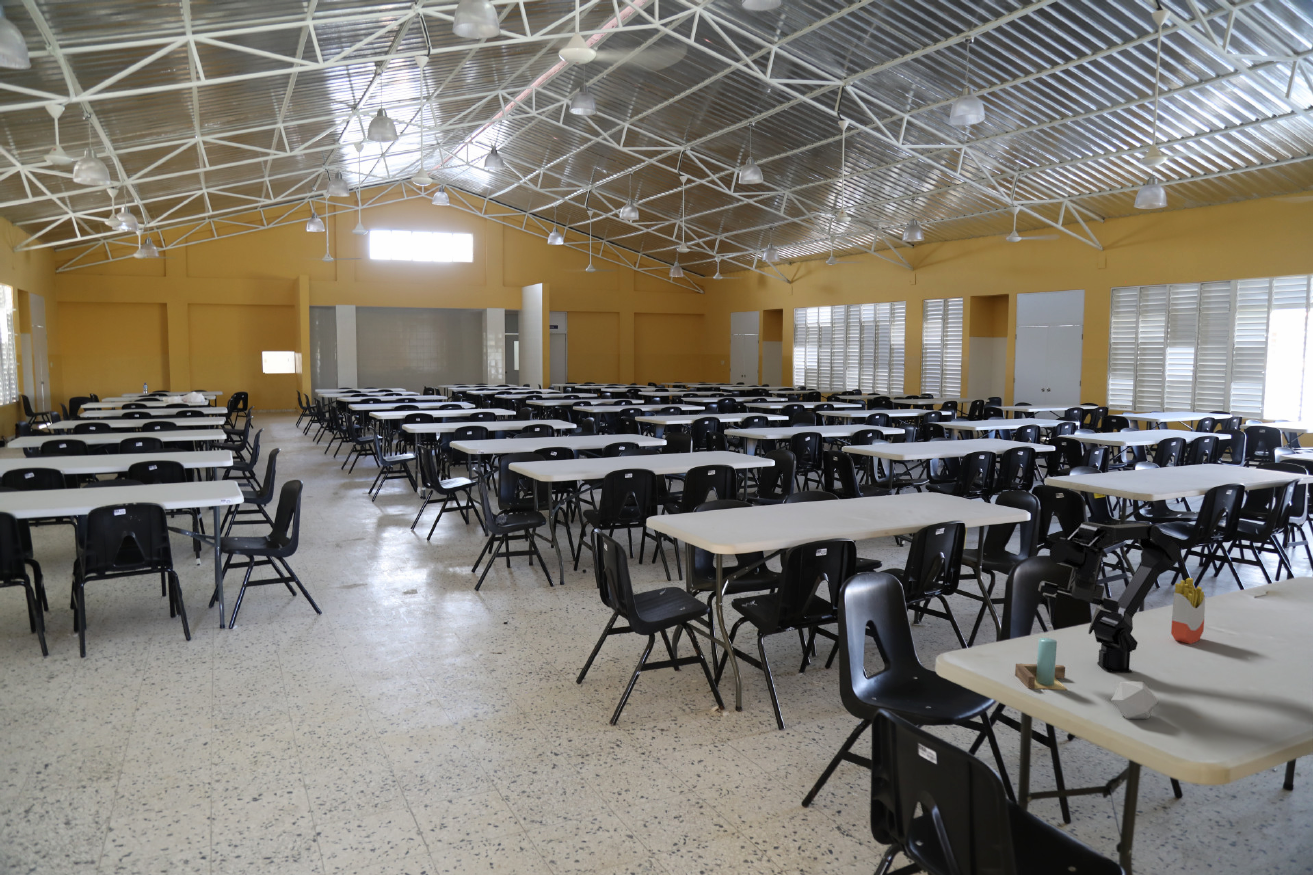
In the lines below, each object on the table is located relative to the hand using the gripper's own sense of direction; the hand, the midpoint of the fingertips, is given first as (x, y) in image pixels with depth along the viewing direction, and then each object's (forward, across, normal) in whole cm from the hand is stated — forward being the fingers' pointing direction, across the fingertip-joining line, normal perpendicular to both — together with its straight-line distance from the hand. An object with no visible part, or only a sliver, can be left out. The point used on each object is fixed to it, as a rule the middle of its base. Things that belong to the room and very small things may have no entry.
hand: (1070, 628), depth 223 cm
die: (+14, +14, -21) cm, 29 cm away
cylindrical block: (+15, -3, -6) cm, 16 cm away
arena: (+15, -3, -6) cm, 16 cm away
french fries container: (-2, +38, +46) cm, 60 cm away
